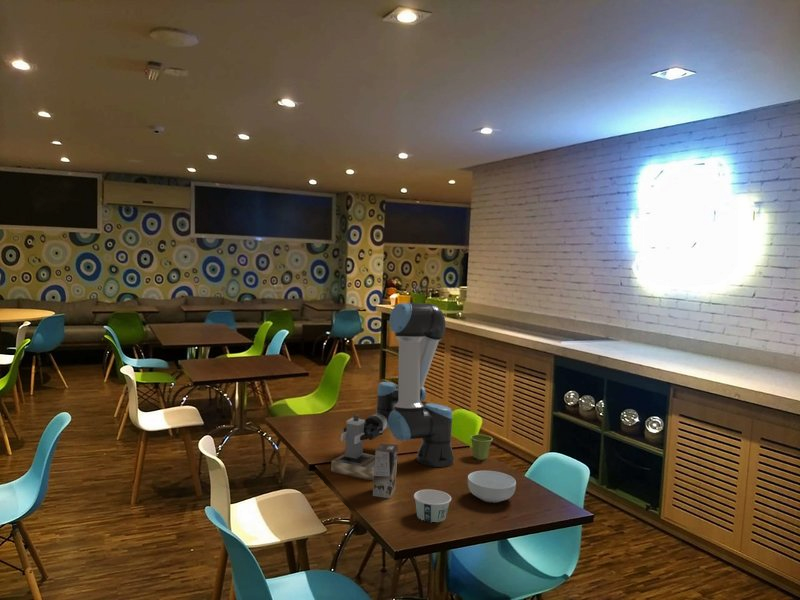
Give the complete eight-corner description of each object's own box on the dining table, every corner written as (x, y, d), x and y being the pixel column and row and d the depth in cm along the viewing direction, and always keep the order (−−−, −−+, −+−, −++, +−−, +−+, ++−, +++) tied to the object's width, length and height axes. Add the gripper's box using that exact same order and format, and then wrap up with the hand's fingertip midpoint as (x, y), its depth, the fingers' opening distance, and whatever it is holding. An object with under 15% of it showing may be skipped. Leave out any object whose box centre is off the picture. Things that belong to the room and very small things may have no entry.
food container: (420, 506, 198) (421, 486, 198) (454, 513, 193) (456, 493, 193) (406, 519, 187) (408, 498, 187) (443, 527, 182) (444, 506, 182)
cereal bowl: (458, 491, 213) (459, 472, 213) (498, 487, 219) (499, 468, 219) (481, 510, 197) (483, 489, 197) (524, 505, 203) (525, 485, 203)
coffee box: (390, 498, 202) (393, 452, 201) (372, 496, 204) (374, 450, 203) (396, 489, 211) (398, 444, 210) (378, 487, 213) (381, 442, 212)
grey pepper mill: (362, 455, 232) (365, 414, 231) (356, 459, 227) (359, 417, 226) (350, 452, 234) (353, 412, 233) (344, 456, 229) (346, 415, 228)
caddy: (390, 468, 232) (391, 458, 232) (374, 480, 218) (374, 470, 218) (349, 460, 239) (349, 450, 239) (331, 471, 225) (331, 461, 225)
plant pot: (492, 462, 248) (494, 441, 247) (470, 460, 248) (471, 440, 248) (489, 455, 257) (491, 435, 257) (468, 453, 257) (469, 433, 257)
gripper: (394, 437, 243) (369, 453, 222) (354, 429, 250) (327, 444, 229) (395, 419, 243) (370, 433, 221) (355, 412, 249) (328, 425, 228)
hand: (348, 439), depth 225 cm, fingers closed on grey pepper mill, 5 cm apart
